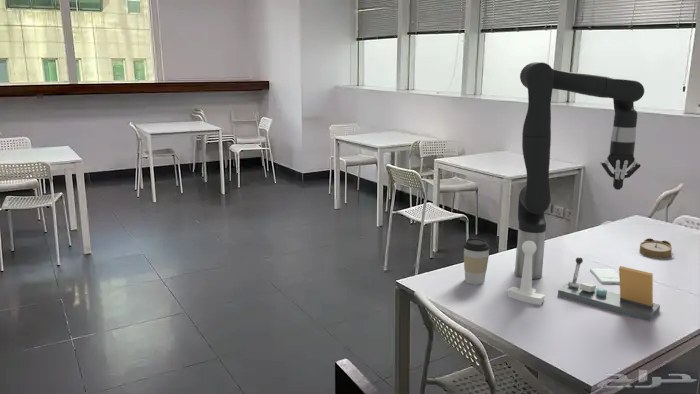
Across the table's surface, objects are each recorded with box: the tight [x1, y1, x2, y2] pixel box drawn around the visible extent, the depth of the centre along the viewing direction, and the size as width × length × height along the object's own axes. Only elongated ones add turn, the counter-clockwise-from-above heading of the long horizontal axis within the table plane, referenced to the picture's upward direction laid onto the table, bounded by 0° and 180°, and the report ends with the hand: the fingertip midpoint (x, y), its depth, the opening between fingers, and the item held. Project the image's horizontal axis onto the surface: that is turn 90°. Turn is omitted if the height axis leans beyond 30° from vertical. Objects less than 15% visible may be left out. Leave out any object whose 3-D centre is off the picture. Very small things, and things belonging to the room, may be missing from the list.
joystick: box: [507, 241, 546, 306], centre depth 179 cm, size 11×8×20 cm
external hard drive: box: [589, 267, 620, 285], centre depth 198 cm, size 2×8×12 cm
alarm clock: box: [639, 237, 673, 259], centre depth 224 cm, size 11×5×15 cm
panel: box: [557, 280, 661, 322], centre depth 177 cm, size 28×10×2 cm, turn 47°
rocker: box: [579, 282, 597, 292], centre depth 181 cm, size 4×4×2 cm
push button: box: [596, 287, 608, 297], centre depth 178 cm, size 3×3×2 cm
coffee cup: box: [462, 237, 490, 285], centre depth 194 cm, size 9×9×15 cm
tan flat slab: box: [618, 265, 654, 309], centre depth 168 cm, size 9×2×14 cm, turn 47°
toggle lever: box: [567, 256, 584, 289], centre depth 184 cm, size 3×2×10 cm
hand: (617, 189), depth 193 cm, fingers closed
